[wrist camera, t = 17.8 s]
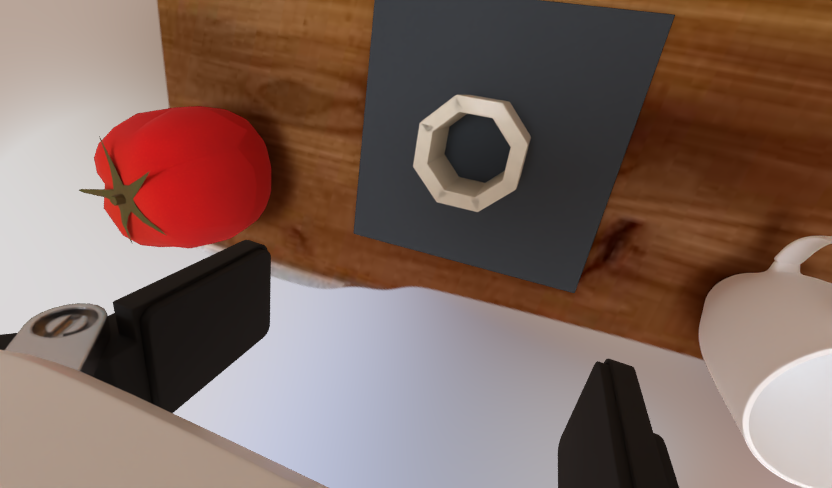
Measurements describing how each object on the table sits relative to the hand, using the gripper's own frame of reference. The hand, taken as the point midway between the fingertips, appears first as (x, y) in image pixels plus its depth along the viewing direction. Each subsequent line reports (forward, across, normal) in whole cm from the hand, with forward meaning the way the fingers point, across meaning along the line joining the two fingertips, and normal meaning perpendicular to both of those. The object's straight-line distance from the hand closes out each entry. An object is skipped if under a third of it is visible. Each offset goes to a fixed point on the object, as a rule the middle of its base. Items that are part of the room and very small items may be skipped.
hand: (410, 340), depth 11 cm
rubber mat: (+23, +2, -2) cm, 23 cm away
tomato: (+22, +24, +4) cm, 33 cm away
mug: (+23, -19, +3) cm, 30 cm away
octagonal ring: (+22, +2, -2) cm, 22 cm away
